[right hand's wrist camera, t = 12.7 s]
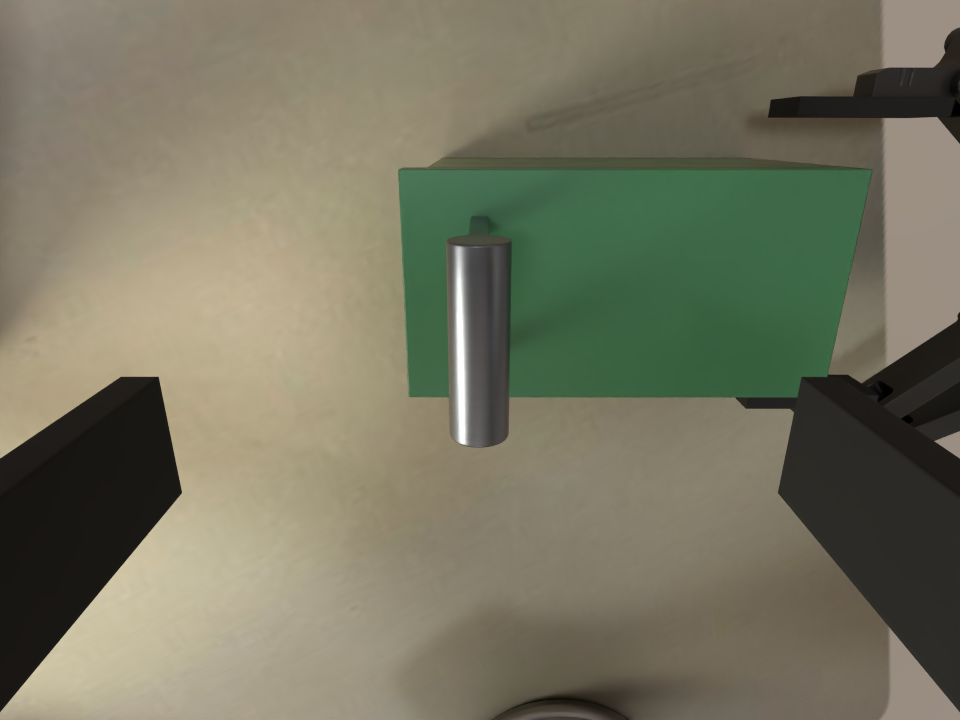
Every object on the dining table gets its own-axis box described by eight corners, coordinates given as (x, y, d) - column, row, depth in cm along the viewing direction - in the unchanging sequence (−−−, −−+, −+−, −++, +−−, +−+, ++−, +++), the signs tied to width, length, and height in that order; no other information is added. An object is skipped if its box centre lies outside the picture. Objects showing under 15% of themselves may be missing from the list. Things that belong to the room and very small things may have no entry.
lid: (411, 386, 27) (382, 492, 19) (402, 167, 24) (361, 184, 16) (808, 386, 27) (946, 493, 19) (854, 167, 24) (1044, 184, 16)
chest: (444, 320, 36) (432, 385, 27) (441, 157, 33) (425, 167, 24) (723, 320, 36) (808, 386, 27) (747, 157, 33) (853, 167, 24)
